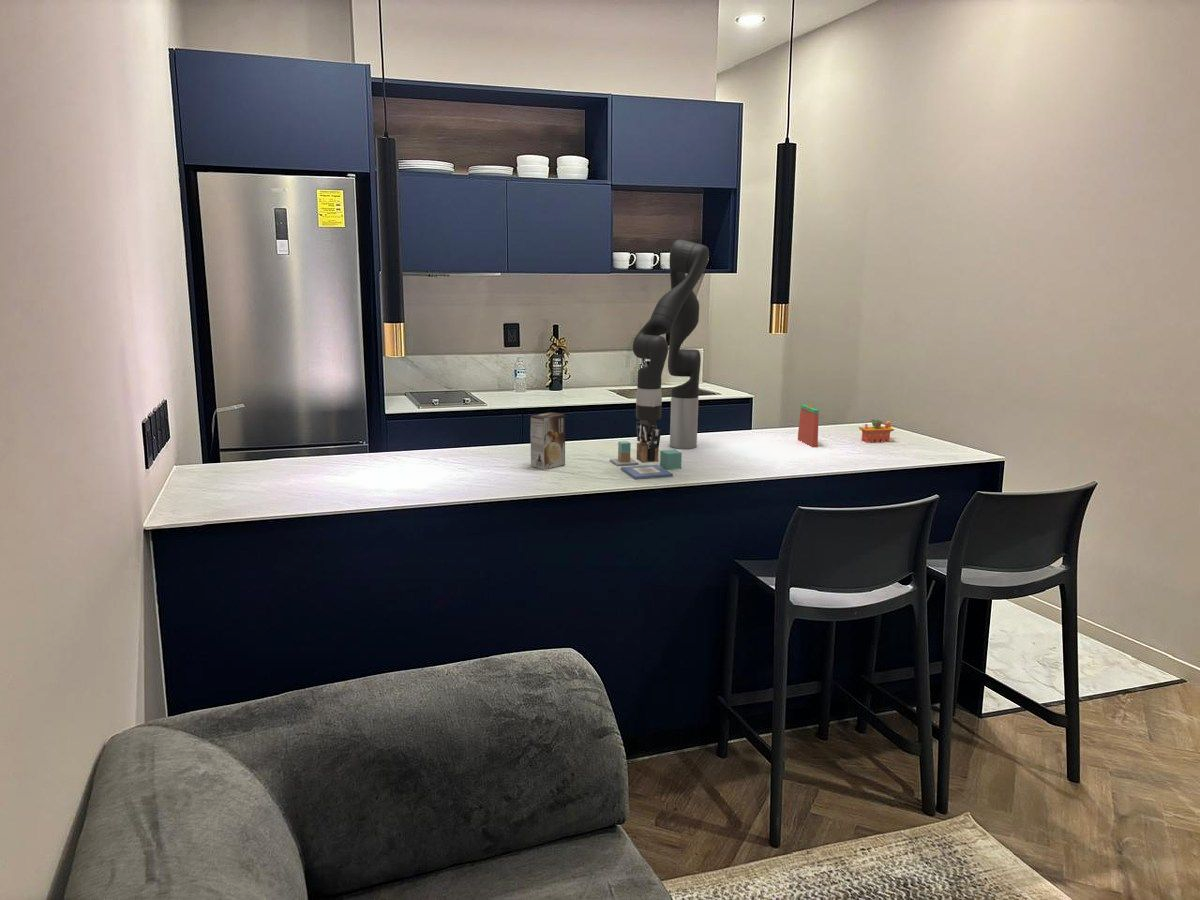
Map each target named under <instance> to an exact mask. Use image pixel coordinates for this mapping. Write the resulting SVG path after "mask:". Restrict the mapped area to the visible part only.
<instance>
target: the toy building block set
mask: <svg viewBox="0 0 1200 900" xmlns="http://www.w3.org/2000/svg"><path fill="white" fill-rule="evenodd" d="M819 411H820V410H819V409H816V408H815V407H813V406H812V404H808V405H806V404H800V412H799V421H798V422H799V423H798V430H797V431H798V432H797V439H798V440H797V441H798V442H801V441H802V442H801V443H803V444H804V443H805V444H804V445H806V444H807V445H806V446H808V445H809V447H810V446H811V448H818V447H819V413H820V412H819ZM869 421H870V423H871V424H872V426H869V425H868V424H867V423H866V424H864V426H857V427H858V429H859V430H860V431H861V442H864V443H865V444H868V442H870V444H871V443H874V442H875V443H879V442H880V443H885V442H887V443H889V442H890V439H891V433H892V432H894V431H895V429H896V428H892V424H891V421H890V420H887V421H886V424H885V425H884V426H882V424H884V423H885V421H884V420H881V419H870V420H869Z"/></svg>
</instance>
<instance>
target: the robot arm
mask: <svg viewBox="0 0 1200 900" xmlns="http://www.w3.org/2000/svg"><path fill="white" fill-rule="evenodd" d="M709 249H710V248H708V246H707V245H704V244H701V243H696V242H693V241H689V240H686V239H676V240H675V241H674V242H673V243H672V245H671V247H670V250H669V251H670V252H669V260H668V261H669V263H668V264H669V275H670V276H669V278H670V290H669V291H668V292H665V293H664V294H663V296H661V298H660V299H659V300H658V301H657V303H656V304H655V307H654V310H653V312H652V313H651V316H650V318H649V319H648V321H647V322H646V323H645V324H644V325H643V326H642V328H640V331H639V332H637V334H636V335H635V337H634V339H633V342H632V353H633V354H634V356H635V357H636V358H638V359H644V360H649V363H648V365H647V366H645V367H644V366H643V367H640V368H639V369H638V371H637V387H636V388H637V389H636V396H635V397H636V398H635V402H636V403H635V418H636V419H637V420H639V421H636V422H635V424H636V425H635V427H636V441H637V442H638V443H644V442H647V447H648V450H647V460H648V461H649V462H648V463H651V462H650V461H655V449H656V448H659V447H660V442H661V434H662V429H660V428H657V427H658V426H657V421H659V420H661V419H662V406H663V405H662V402H663V400H662V399H663V395H662V394H663V393H662V374H663V370H664V367H665V365H666V364H665V363H666V361H667V370H668V373H669V375H670V376H672V377H679V378H680V377H681V378H684V377H687V378H688V377H689V379H688V380H687V381H685V382H684V383H683V384H680V385H675V386H673V387H672V388H671V391H670V395H671V397H670V422H669V423H670V424H669V425H670V426H669V428H670V429H669V446H670V447H671V448H675V449H685V450H686V449H688V450H689V449H694V448H696V447H697V445H698V441H697V440H698V420H699V419H698V417H699V396H700V395H699V393H700V392H699V390H700V389H699V387H700V372H701V361H702V360H701V359H702V358H701V357H702V355H701V352H700V350H698V349H695V348H694V349H692V348H690V349H688V348H681V347H682V345H683V343H684V341H686V339H687V338H688V337H689V336H690V335H691V334H692V332H693V331H694V330H695V329H696V327H697V326H698V323H699V321H700V318H699V317H700V302H699V299H698V298H697V295H696V294H695V292H694V288H695V287H696V285H697V283H698V282H699V280H700V279H701V277H702V275H703V274H704V272H705V270H706V268H707V266H708V263H709V258H710V251H709ZM665 334H666V335H667V334H669V343H668V341H667V340H666V338H665V337H664V336H663V335H665ZM668 344H669V345H668ZM667 357H668V358H667Z"/></svg>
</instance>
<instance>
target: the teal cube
mask: <svg viewBox="0 0 1200 900" xmlns="http://www.w3.org/2000/svg"><path fill="white" fill-rule="evenodd" d="M659 451H660V453H659V455H660V456H659V466H661V467H662V468H664V469H666V470H667V471H668V470H678V469H680V470H681V469H682V455H683V453H682V452H681V451H679V450H677V449H676V448H675V449H662V450H659Z"/></svg>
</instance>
